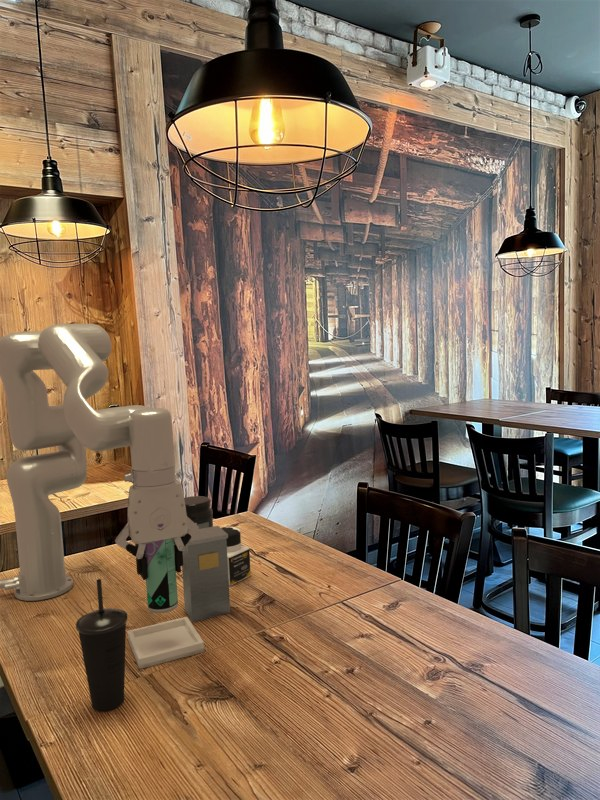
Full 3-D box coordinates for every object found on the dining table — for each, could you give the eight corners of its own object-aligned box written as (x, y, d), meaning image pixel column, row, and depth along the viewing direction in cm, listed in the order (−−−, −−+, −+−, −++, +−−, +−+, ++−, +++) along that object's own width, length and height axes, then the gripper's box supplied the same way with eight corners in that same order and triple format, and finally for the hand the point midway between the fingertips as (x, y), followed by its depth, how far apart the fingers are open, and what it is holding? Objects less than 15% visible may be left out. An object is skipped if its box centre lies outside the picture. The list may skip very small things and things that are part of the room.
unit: (191, 623, 119) (186, 541, 117) (183, 610, 124) (178, 532, 123) (232, 613, 122) (228, 534, 121) (222, 601, 128) (218, 525, 126)
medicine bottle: (230, 586, 136) (227, 535, 134) (208, 580, 140) (205, 530, 139) (251, 576, 141) (249, 527, 140) (229, 570, 146) (227, 522, 144)
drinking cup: (115, 682, 99) (106, 566, 97) (143, 698, 94) (134, 577, 92) (72, 705, 93) (62, 582, 91) (100, 724, 88) (89, 594, 86)
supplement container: (202, 533, 175) (200, 493, 174) (221, 541, 167) (218, 500, 166) (170, 541, 169) (167, 500, 167) (187, 551, 160) (184, 507, 159)
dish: (139, 669, 102) (138, 659, 102) (127, 639, 113) (127, 630, 113) (204, 651, 107) (203, 642, 107) (187, 625, 118) (187, 616, 118)
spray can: (157, 599, 113) (150, 496, 111) (183, 601, 111) (176, 497, 109) (141, 611, 107) (134, 504, 106) (168, 614, 106) (161, 505, 104)
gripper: (107, 488, 100) (115, 591, 102) (206, 474, 107) (211, 570, 109) (101, 479, 107) (109, 576, 108) (194, 467, 114) (200, 558, 116)
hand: (160, 572), depth 109 cm, fingers closed on spray can, 5 cm apart
